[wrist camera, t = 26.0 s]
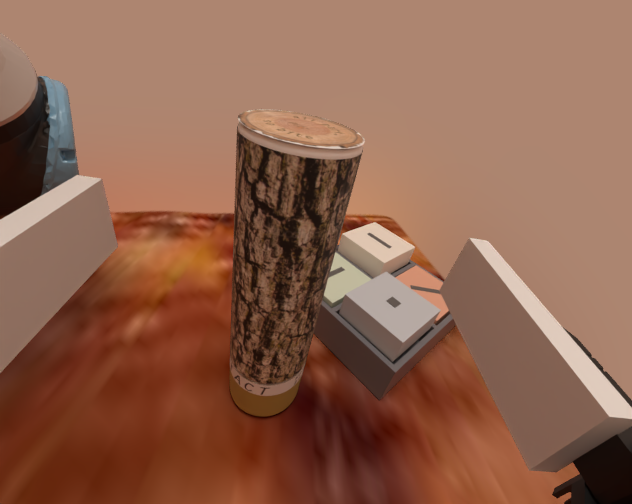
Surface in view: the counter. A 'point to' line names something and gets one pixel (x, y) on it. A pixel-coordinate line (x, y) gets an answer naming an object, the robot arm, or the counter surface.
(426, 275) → the key terracotta
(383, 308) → the key slate
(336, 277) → the key sage
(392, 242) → the key cream
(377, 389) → the keypad
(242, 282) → the brown bark-patterned cylinder
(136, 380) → the counter surface
